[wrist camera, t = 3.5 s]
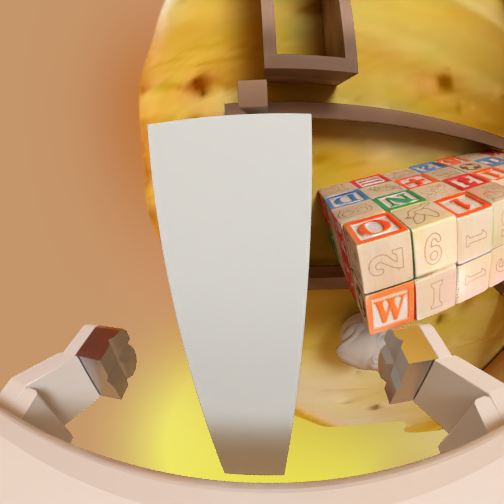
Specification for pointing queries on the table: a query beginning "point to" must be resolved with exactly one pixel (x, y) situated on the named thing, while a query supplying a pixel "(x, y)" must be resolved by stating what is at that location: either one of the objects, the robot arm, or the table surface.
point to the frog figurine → (359, 344)
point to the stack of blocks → (419, 236)
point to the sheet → (238, 271)
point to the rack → (256, 102)
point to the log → (496, 367)
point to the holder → (312, 66)
